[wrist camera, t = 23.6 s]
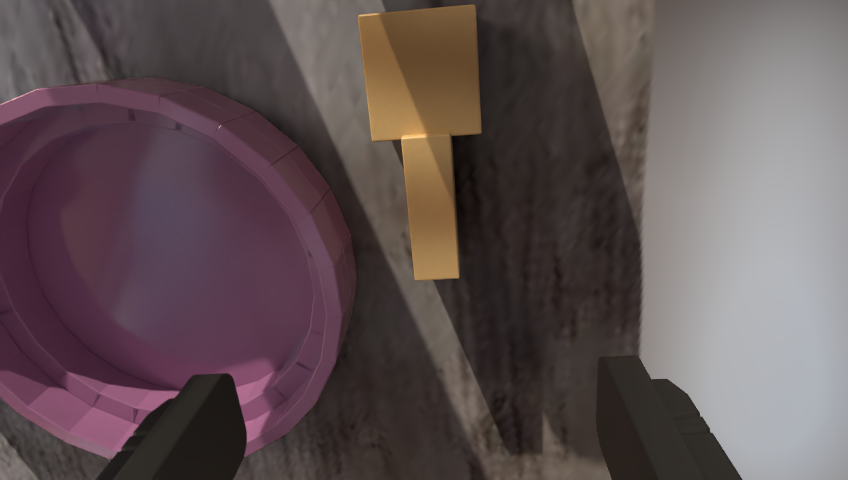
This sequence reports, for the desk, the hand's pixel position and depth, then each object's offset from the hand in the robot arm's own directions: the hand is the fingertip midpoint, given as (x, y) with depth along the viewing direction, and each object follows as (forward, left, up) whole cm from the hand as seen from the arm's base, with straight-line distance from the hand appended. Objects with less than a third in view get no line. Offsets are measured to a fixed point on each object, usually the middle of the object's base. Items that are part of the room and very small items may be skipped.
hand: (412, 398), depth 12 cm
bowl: (+4, -15, -18) cm, 24 cm away
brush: (-2, 0, -18) cm, 18 cm away
